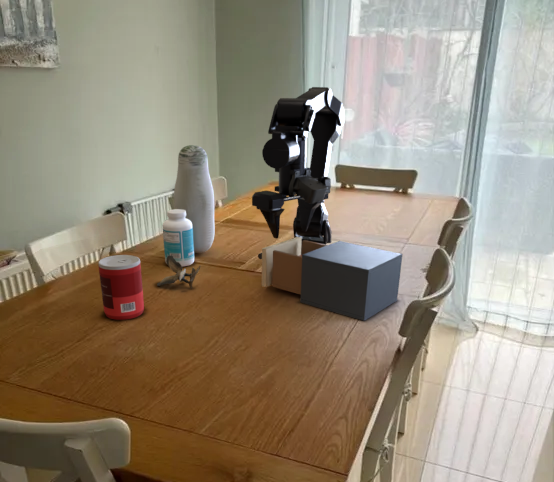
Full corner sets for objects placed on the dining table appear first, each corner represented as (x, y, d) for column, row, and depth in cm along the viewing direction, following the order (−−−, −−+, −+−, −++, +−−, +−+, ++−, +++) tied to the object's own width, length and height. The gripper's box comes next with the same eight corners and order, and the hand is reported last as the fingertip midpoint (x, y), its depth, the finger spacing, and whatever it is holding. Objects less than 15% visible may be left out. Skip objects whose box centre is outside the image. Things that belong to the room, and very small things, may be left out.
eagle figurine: (203, 276, 128) (169, 265, 130) (199, 257, 122) (163, 245, 124) (188, 301, 125) (153, 289, 126) (184, 283, 119) (147, 271, 120)
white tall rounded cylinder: (170, 252, 150) (163, 145, 138) (198, 245, 157) (193, 142, 146) (195, 259, 144) (189, 148, 133) (222, 251, 151) (220, 145, 140)
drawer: (247, 282, 126) (247, 244, 122) (282, 268, 136) (283, 233, 132) (314, 301, 116) (316, 261, 112) (347, 285, 125) (350, 247, 122)
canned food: (151, 308, 113) (147, 257, 108) (130, 323, 106) (124, 268, 101) (119, 303, 115) (114, 252, 110) (96, 317, 108) (89, 263, 104)
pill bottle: (189, 257, 146) (187, 206, 140) (198, 265, 140) (195, 212, 134) (161, 261, 143) (158, 209, 137) (169, 269, 137) (165, 215, 131)
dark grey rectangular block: (300, 302, 117) (302, 254, 113) (336, 284, 128) (339, 240, 124) (364, 321, 109) (368, 270, 105) (397, 300, 120) (402, 253, 115)
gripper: (289, 171, 105) (287, 250, 111) (349, 162, 117) (344, 234, 124) (250, 164, 112) (250, 239, 119) (310, 157, 124) (308, 225, 131)
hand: (290, 234), depth 123 cm, fingers open, 9 cm apart
